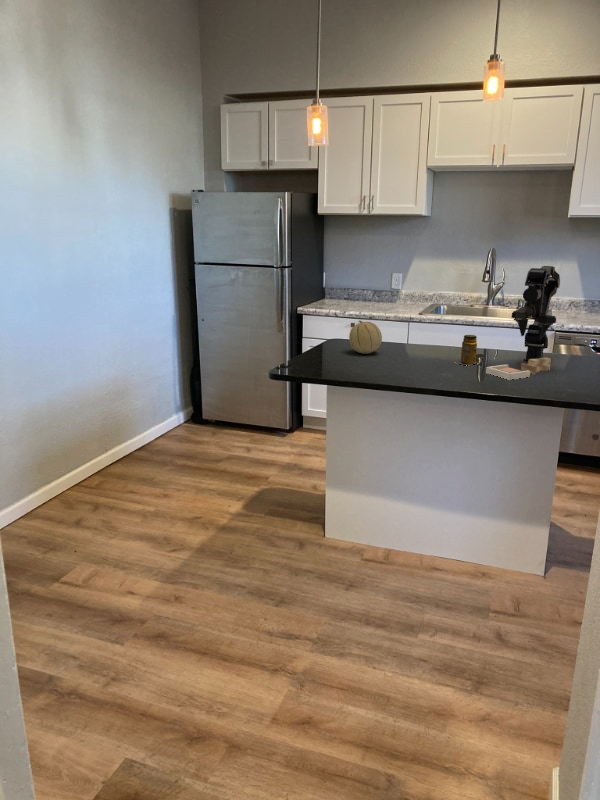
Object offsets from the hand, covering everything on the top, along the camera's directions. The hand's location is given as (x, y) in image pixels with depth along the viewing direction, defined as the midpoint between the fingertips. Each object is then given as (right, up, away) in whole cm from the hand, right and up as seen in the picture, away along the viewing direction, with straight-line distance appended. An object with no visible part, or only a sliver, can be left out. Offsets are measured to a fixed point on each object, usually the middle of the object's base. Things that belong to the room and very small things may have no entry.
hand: (530, 337), depth 251 cm
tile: (-13, -16, -11) cm, 24 cm away
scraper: (+1, -14, -4) cm, 15 cm away
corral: (-13, -16, -12) cm, 24 cm away
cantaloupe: (-66, -5, +27) cm, 71 cm away
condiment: (-25, -10, +8) cm, 28 cm away
